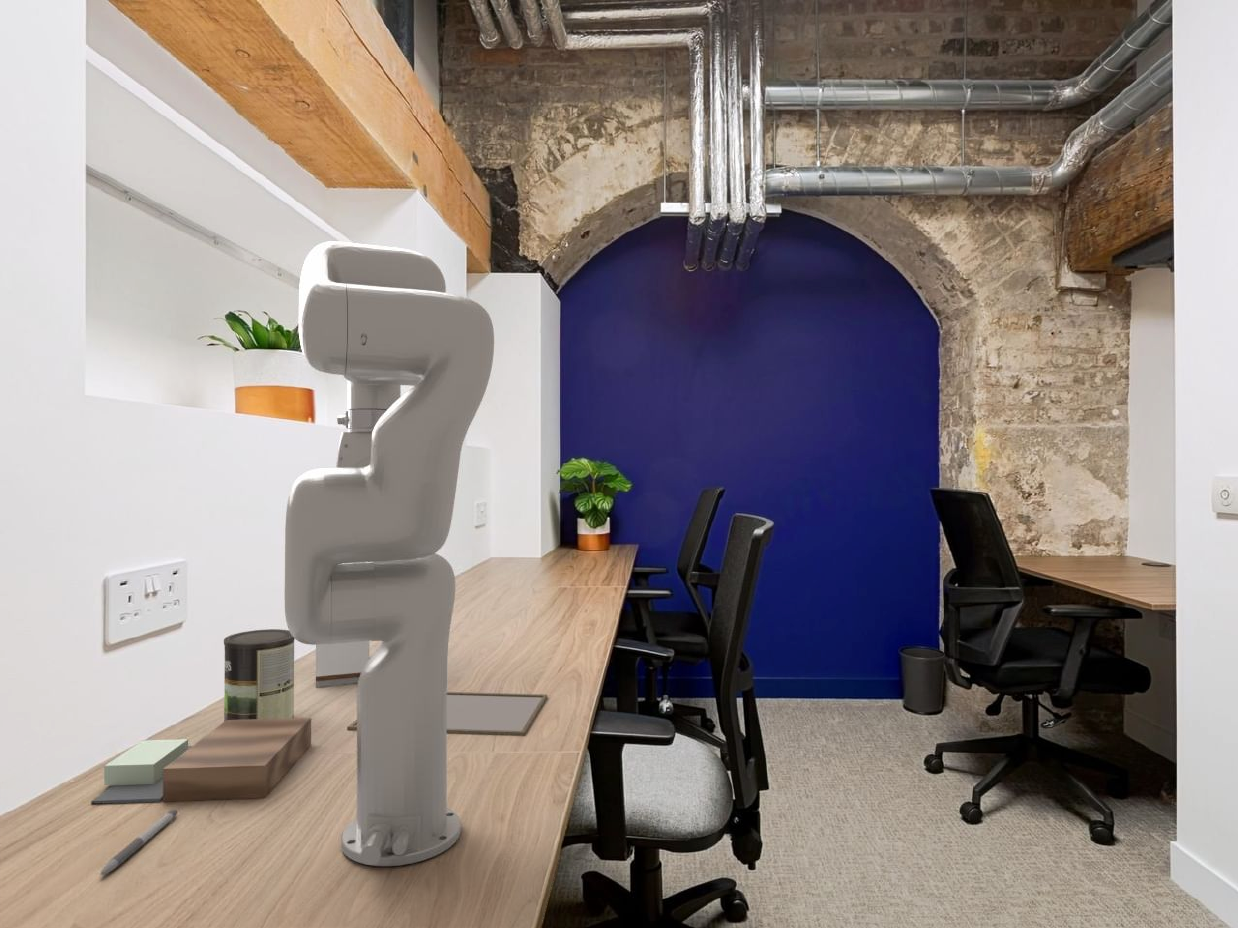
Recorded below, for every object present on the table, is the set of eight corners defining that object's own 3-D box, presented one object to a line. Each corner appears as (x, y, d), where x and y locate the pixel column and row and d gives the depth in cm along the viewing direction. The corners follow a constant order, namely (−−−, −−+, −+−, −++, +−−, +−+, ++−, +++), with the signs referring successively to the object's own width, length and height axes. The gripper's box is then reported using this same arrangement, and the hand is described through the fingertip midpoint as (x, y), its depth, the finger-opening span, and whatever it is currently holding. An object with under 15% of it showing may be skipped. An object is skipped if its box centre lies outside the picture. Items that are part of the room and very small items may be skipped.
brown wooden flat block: (264, 797, 93) (264, 765, 93) (162, 801, 92) (163, 768, 92) (311, 744, 111) (311, 717, 111) (226, 747, 110) (226, 719, 110)
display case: (375, 681, 144) (376, 498, 145) (315, 687, 140) (316, 499, 141) (371, 667, 155) (372, 496, 155) (316, 672, 151) (316, 497, 151)
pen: (180, 817, 89) (180, 805, 89) (106, 883, 75) (106, 868, 75) (171, 818, 89) (171, 805, 89) (95, 883, 75) (95, 869, 75)
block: (104, 765, 96) (104, 785, 96) (153, 764, 97) (153, 783, 97) (143, 740, 105) (143, 758, 105) (188, 739, 106) (188, 756, 106)
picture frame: (347, 733, 118) (524, 739, 115) (347, 726, 118) (524, 732, 115) (394, 695, 137) (547, 700, 134) (394, 690, 137) (547, 694, 134)
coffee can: (219, 739, 114) (219, 645, 114) (228, 718, 123) (228, 631, 123) (293, 730, 117) (293, 640, 117) (296, 710, 127) (296, 627, 127)
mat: (160, 801, 92) (160, 798, 92) (91, 804, 92) (91, 800, 92) (224, 747, 110) (224, 744, 110) (166, 749, 110) (166, 746, 110)
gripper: (314, 421, 108) (314, 550, 108) (421, 422, 109) (420, 549, 109) (329, 424, 116) (329, 544, 115) (429, 425, 117) (429, 544, 117)
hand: (374, 546), depth 112 cm, fingers closed
